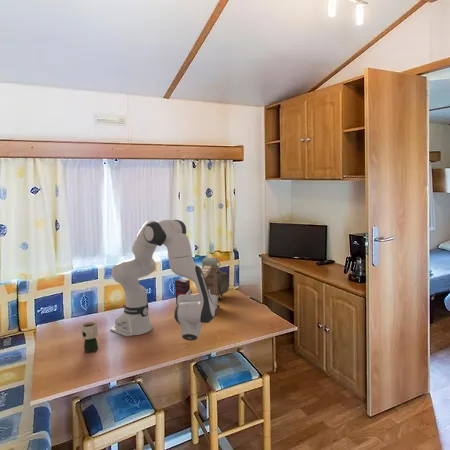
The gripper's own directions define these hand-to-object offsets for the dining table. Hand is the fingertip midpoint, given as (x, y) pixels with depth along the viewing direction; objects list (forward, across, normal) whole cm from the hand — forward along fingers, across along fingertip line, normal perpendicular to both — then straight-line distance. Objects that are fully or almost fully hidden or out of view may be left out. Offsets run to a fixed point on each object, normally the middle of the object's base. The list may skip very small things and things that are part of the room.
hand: (199, 289), depth 196 cm
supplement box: (+22, +19, +38) cm, 48 cm away
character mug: (-34, +48, +6) cm, 59 cm away
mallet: (+21, 0, +7) cm, 22 cm away
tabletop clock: (+32, -1, +44) cm, 55 cm away
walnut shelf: (+12, 0, +32) cm, 34 cm away
